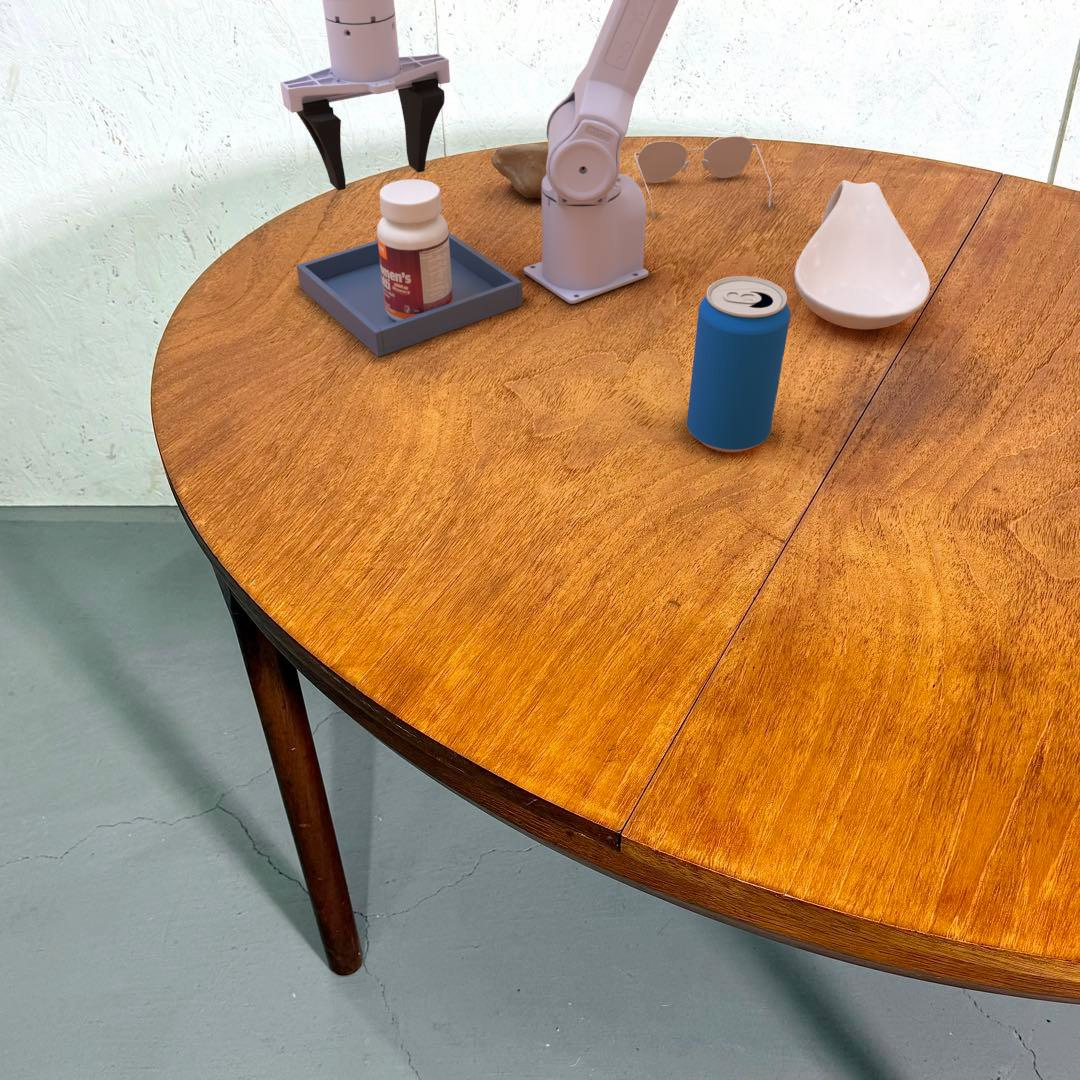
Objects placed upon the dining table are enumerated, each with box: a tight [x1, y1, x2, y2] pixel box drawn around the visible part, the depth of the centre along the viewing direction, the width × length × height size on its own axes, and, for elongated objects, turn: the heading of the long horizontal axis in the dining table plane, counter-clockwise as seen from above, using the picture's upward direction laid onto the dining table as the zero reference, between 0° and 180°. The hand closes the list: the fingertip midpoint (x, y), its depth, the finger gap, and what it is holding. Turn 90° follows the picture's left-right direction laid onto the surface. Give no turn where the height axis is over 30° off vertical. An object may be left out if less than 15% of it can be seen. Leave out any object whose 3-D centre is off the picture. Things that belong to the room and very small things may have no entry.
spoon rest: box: [793, 179, 931, 330], centre depth 98 cm, size 24×12×7 cm, turn 172°
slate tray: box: [295, 232, 524, 358], centre depth 99 cm, size 15×15×2 cm
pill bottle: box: [376, 178, 453, 322], centre depth 93 cm, size 6×6×11 cm
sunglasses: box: [633, 135, 773, 217], centre depth 114 cm, size 14×8×5 cm, turn 99°
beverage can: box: [686, 275, 791, 453], centre depth 79 cm, size 6×6×12 cm
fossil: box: [490, 143, 548, 200], centre depth 114 cm, size 9×4×10 cm
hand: (377, 177), depth 95 cm, fingers open, 7 cm apart
